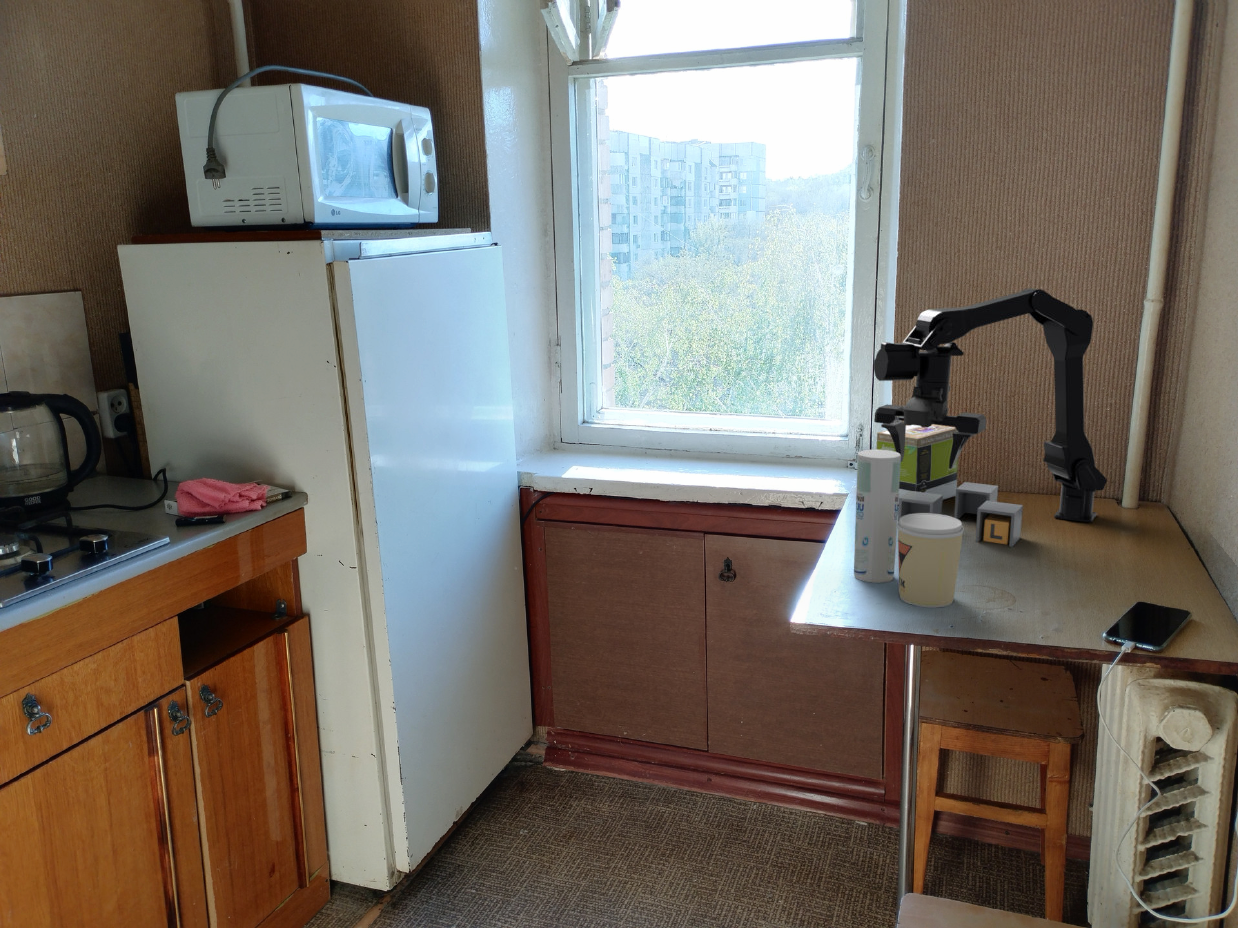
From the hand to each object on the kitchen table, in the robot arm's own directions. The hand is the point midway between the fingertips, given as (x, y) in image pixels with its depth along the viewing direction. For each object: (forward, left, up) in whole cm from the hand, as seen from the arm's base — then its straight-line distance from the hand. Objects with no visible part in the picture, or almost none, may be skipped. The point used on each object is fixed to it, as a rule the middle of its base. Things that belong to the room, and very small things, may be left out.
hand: (925, 464), depth 178 cm
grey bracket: (+1, +14, -12) cm, 18 cm away
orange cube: (+1, +14, -12) cm, 18 cm away
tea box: (-19, -7, -12) cm, 24 cm away
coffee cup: (+36, +12, -12) cm, 40 cm away
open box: (-11, +7, -12) cm, 18 cm away
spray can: (+31, +2, -12) cm, 33 cm away
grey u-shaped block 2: (+1, 0, -12) cm, 12 cm away
